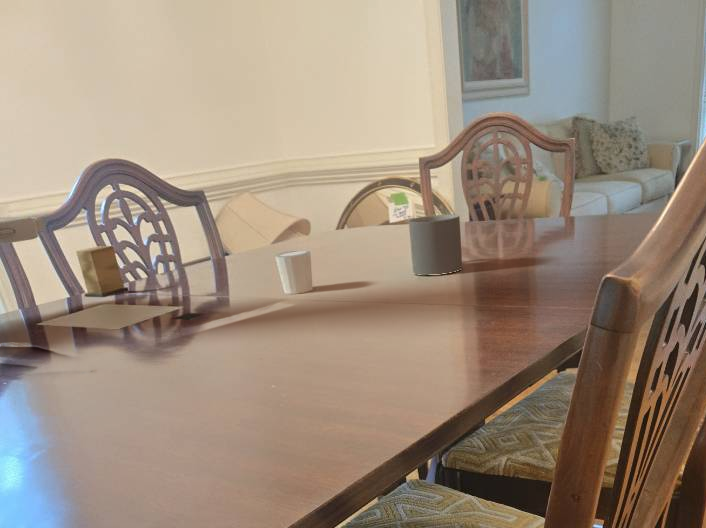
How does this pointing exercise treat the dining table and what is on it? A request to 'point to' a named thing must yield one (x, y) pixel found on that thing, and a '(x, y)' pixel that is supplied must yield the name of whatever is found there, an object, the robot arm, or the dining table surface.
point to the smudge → (187, 316)
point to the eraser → (100, 271)
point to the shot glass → (295, 271)
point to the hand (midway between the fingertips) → (25, 223)
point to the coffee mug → (435, 244)
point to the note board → (110, 316)
